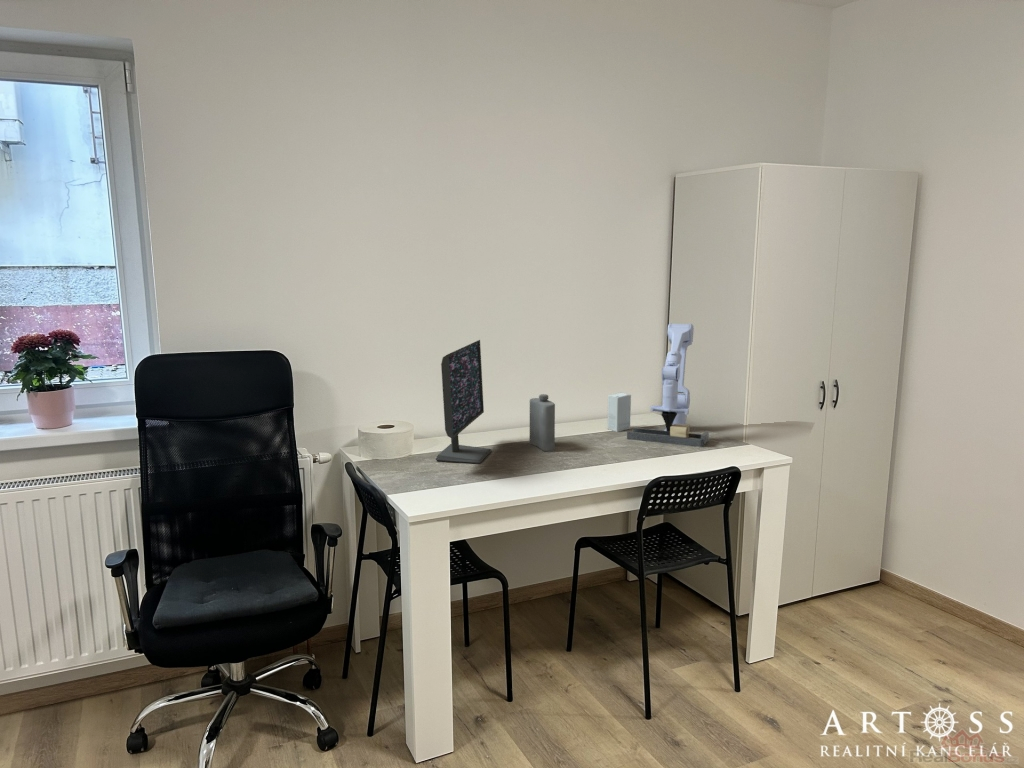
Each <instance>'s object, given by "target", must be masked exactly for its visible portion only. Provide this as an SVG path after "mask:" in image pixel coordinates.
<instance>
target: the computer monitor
mask: <svg viewBox="0 0 1024 768" xmlns="http://www.w3.org/2000/svg"><path fill="white" fill-rule="evenodd" d="M481 351H482V348H481V339H478V340H476V341H474V342H472V343H470V344H467V345H466V346H463V347H461V348H459V349H457V350H454V351H452V352H450V353H447V354H446V355H444V356H443V357H442V359H441V363H440V366H441V367H440V368H441V382H442V383H441V384H442V386H441V387H442V399H443V400H442V401H443V414H444V415H443V416H444V417H443V419H444V430H445V434H446V436H447V437H449V438H450V444H449V445H447V447H446V446H445V448H444V449H443V450H442V451H440V453H438V454H437V456H436V458H435V460H436V461H437V462H443V463H445V462H446V463H448V462H449V463H459V462H462V464H476V463H479V464H480V463H482V462H483V460H484V459H485V458H486V457H487V456H488V455H489V454H490V452H492V449H491V448H487V447H486V448H485V447H479V446H472V445H464V444H459V443H460V442H459V434H461V432H462V431H464V430H465V429H466V428H467V427H468V426H470V425H471V423H473V422H474V421H476V420H477V418H479V417H480V416H481V415H482V414H483V413H484V412H485V410H484V391H483V372H482V371H483V369H482V354H481V353H482V352H481Z"/></svg>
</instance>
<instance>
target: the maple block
mask: <svg viewBox="0 0 1024 768" xmlns="http://www.w3.org/2000/svg"><path fill="white" fill-rule="evenodd" d="M689 433H690V424H686V425H681V424H673V425H672V426H671V427H670V436H677V437H687V438H689Z"/></svg>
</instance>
